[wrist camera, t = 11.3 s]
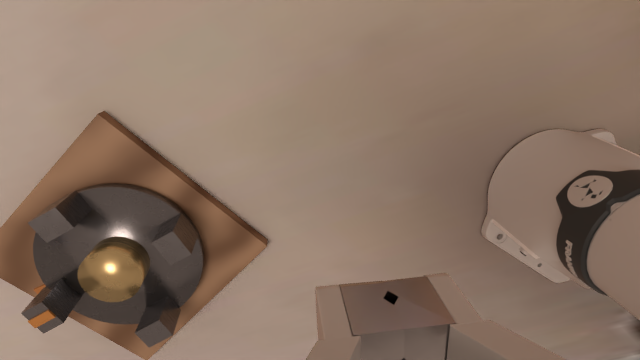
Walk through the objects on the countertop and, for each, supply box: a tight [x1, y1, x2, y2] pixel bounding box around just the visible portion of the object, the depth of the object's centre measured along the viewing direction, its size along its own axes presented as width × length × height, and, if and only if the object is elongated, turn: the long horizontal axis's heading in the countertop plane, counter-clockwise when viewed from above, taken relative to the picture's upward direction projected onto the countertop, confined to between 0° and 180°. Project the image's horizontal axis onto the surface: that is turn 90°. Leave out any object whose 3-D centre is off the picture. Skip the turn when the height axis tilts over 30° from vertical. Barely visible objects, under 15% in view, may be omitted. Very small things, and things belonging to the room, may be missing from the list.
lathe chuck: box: [21, 183, 204, 348], centre depth 40 cm, size 17×17×5 cm
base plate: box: [0, 111, 267, 360], centre depth 44 cm, size 22×22×2 cm
